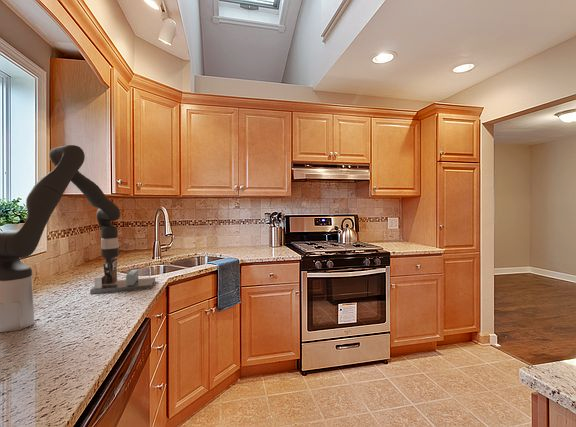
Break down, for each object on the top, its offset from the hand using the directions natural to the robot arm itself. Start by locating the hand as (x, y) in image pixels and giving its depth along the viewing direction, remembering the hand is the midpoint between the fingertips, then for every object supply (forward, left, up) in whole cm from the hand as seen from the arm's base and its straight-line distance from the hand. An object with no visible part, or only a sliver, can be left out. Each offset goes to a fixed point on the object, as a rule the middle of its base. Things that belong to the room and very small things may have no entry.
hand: (111, 281), depth 149 cm
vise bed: (0, -6, -4) cm, 7 cm away
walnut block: (0, 0, -1) cm, 1 cm away
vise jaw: (0, -10, -1) cm, 10 cm away
